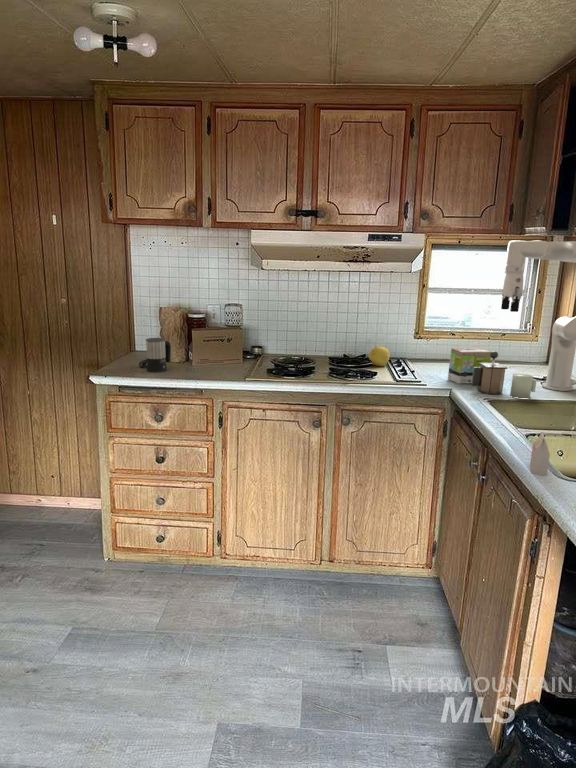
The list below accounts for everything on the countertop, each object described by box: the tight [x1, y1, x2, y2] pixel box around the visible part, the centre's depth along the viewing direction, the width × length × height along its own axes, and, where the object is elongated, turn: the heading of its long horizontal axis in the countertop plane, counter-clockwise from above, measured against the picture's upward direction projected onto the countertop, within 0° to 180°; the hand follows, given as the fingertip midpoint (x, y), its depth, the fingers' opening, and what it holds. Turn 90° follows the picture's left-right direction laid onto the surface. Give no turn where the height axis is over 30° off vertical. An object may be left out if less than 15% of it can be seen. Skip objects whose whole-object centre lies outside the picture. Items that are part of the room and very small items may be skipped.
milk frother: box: [138, 337, 172, 373], centre depth 248 cm, size 14×16×15 cm
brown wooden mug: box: [471, 362, 508, 396], centre depth 223 cm, size 13×10×12 cm
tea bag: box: [529, 431, 551, 477], centre depth 141 cm, size 4×7×10 cm, turn 158°
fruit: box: [368, 346, 391, 367], centre depth 270 cm, size 10×11×10 cm
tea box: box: [447, 347, 492, 384], centre depth 241 cm, size 15×10×15 cm, turn 106°
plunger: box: [490, 350, 499, 366], centre depth 222 cm, size 6×6×16 cm
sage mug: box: [509, 373, 538, 399], centre depth 216 cm, size 9×8×9 cm
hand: (509, 310), depth 230 cm, fingers open, 9 cm apart
